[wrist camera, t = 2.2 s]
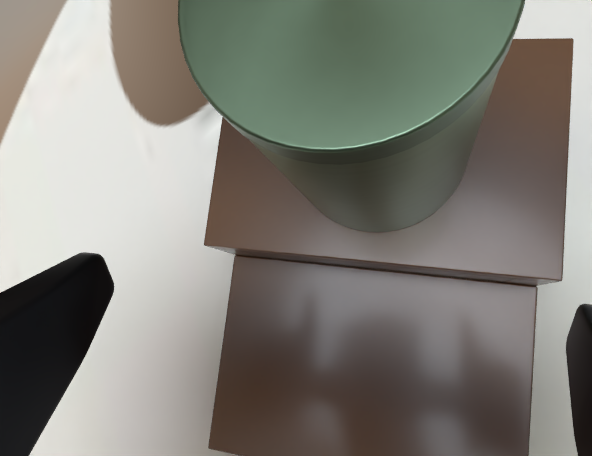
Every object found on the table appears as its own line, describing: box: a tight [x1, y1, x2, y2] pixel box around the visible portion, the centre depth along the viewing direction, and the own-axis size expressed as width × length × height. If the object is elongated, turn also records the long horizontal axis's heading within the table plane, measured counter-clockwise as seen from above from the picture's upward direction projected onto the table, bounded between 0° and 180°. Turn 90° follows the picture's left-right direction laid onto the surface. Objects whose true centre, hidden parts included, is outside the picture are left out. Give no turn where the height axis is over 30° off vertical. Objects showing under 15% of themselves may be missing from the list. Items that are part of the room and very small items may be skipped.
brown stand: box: [204, 39, 573, 456], centre depth 19 cm, size 16×12×5 cm
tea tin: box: [178, 0, 525, 232], centre depth 13 cm, size 6×6×9 cm
